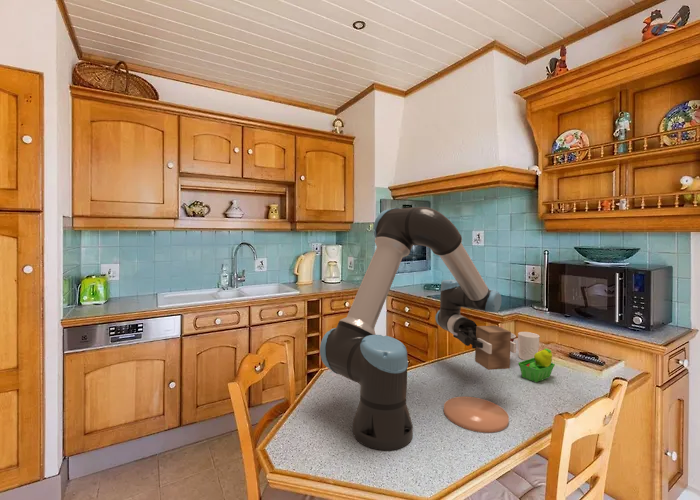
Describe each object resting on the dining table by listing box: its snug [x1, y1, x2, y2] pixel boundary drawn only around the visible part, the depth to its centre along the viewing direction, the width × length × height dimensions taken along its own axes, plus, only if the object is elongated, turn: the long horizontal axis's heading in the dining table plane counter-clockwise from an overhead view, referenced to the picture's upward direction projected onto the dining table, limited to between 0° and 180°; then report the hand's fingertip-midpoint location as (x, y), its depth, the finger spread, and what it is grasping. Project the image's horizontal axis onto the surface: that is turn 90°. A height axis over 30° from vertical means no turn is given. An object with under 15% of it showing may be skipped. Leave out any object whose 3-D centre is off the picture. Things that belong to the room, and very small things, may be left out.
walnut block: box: [474, 325, 512, 371], centre depth 104 cm, size 7×7×11 cm
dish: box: [443, 396, 510, 434], centre depth 96 cm, size 17×17×1 cm
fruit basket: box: [518, 347, 556, 383], centre depth 122 cm, size 11×9×11 cm
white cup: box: [517, 331, 541, 361], centre depth 141 cm, size 8×8×10 cm
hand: (502, 348), depth 99 cm, fingers closed on walnut block, 7 cm apart
